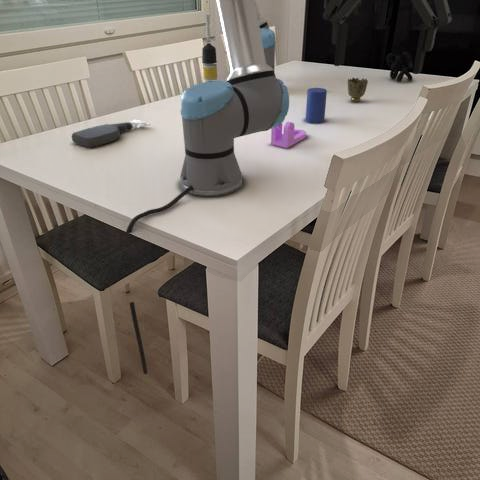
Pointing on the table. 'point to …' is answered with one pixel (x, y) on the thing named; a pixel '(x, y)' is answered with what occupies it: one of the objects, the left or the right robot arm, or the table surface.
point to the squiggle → (399, 66)
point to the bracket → (286, 135)
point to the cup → (357, 88)
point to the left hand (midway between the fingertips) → (376, 68)
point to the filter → (209, 57)
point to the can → (316, 105)
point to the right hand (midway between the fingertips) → (341, 16)
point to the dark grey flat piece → (104, 133)
